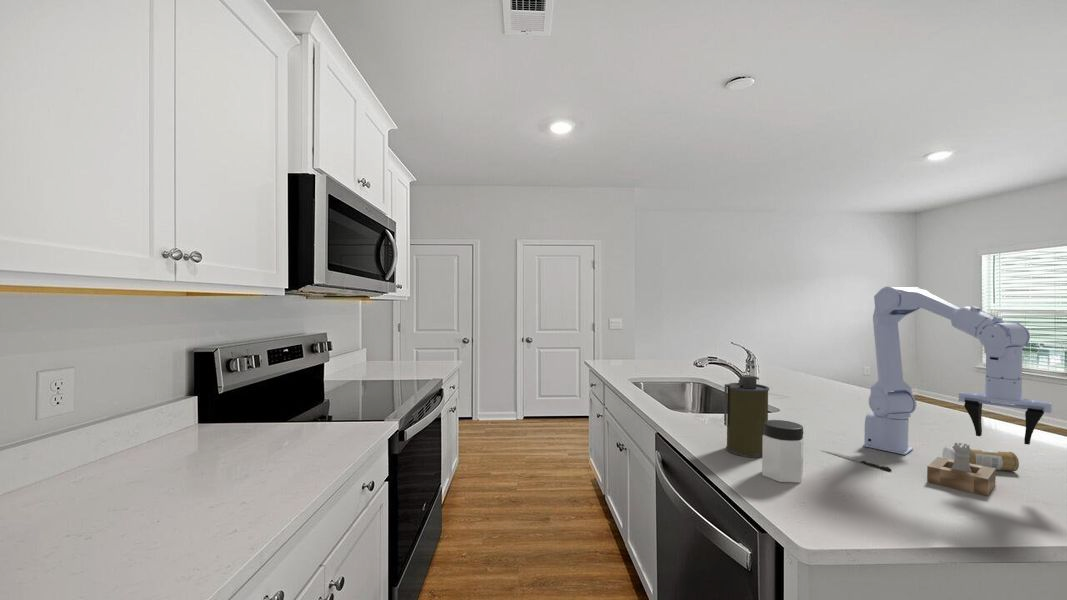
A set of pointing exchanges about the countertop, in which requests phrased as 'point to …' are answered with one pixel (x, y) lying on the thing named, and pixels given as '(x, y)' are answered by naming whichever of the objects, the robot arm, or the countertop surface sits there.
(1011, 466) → the sprinkles bottle
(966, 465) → the rook chess piece
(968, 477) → the bore block
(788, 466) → the jar
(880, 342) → the robot arm
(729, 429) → the canister
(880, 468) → the chef's knife
